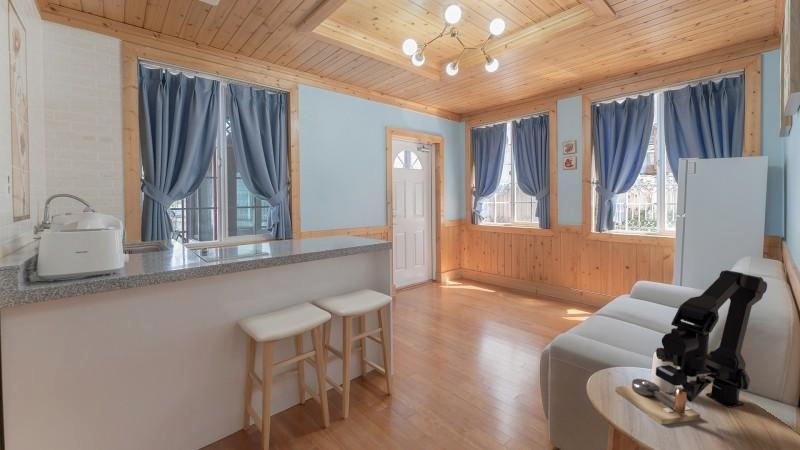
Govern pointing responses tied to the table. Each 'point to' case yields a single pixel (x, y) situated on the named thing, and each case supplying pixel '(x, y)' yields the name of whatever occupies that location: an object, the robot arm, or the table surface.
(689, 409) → the stand
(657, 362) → the can
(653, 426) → the table surface
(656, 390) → the lever
